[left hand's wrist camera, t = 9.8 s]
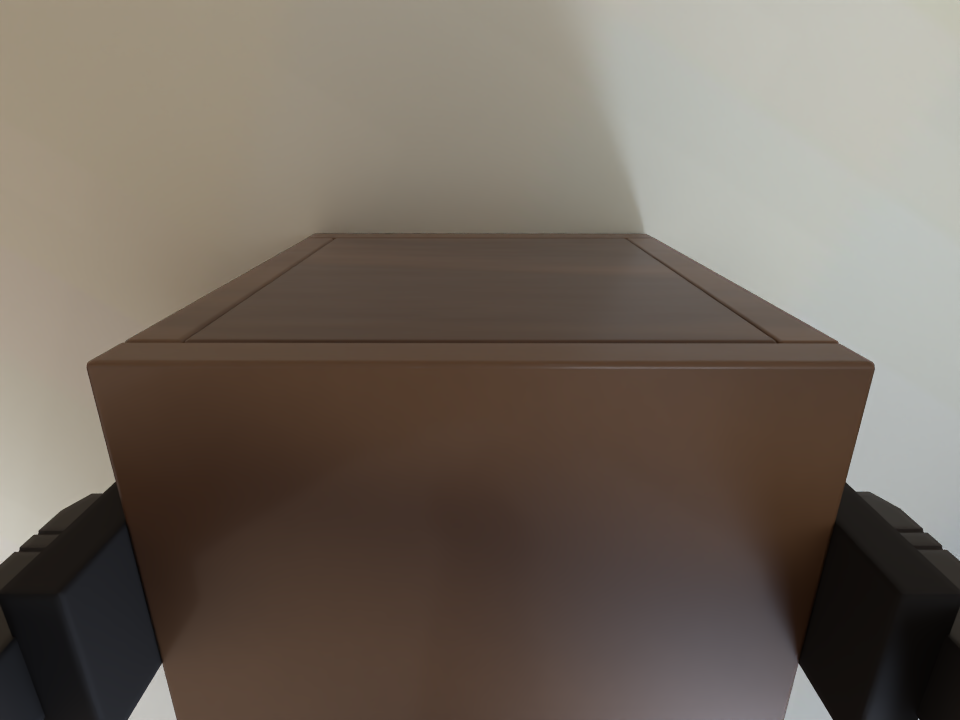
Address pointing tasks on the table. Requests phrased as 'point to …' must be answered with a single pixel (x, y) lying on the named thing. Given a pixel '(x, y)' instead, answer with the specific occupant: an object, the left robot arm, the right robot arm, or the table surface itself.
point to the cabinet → (480, 482)
